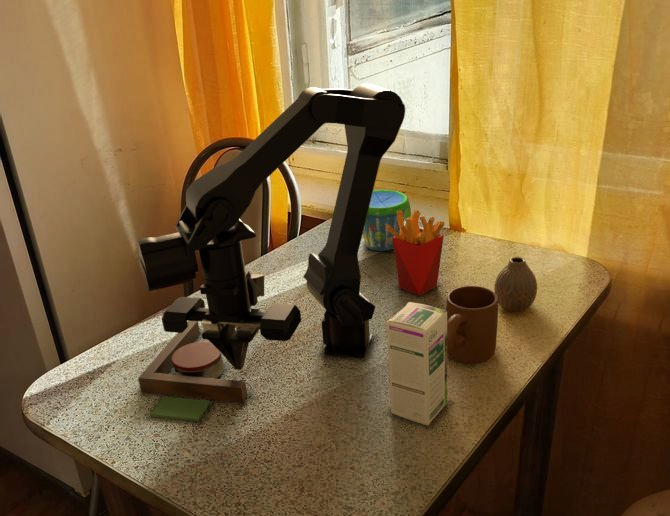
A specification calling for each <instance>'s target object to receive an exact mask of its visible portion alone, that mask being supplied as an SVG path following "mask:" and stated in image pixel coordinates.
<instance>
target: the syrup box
mask: <svg viewBox="0 0 670 516" xmlns="http://www.w3.org/2000/svg"><path fill="white" fill-rule="evenodd" d="M386 336H387V355H388V356H387V359H388V360H387V361H388V377H389V398H390V400H389V401H390V413H391V414H392V415H396V416H398V417H400V418H403V419H406V420H409V421H412V422H414V423H418V424H421V425H424V426H426V427H427V426H429V425H430V424H431V422H432V421H433V420H434V419H435V418H436V417H437V416H438V415H439V413H440V412H441V411H442V410H443V409H444V407H445V406H446V405H447V404H448V353H447V311H446V309H443V308H438V307H436V306H432V305H428V304H423V303H418V302H412V301H408V302H407V303H406V305H405V306H404V307H402V308H401V309H400V310H399V311H397V312H396V313H395V314H393V315H392V316H391V317H390V318H389V319H388V320H387V321H386Z"/></svg>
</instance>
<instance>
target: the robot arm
mask: <svg viewBox="0 0 670 516" xmlns="http://www.w3.org/2000/svg"><path fill="white" fill-rule="evenodd" d="M405 115H406V105H405V104H404V101H403V100H402V98H401V96H400V95H399V94H397V92H394V91H392V90H390V89H387V88H384V87H381V86H378V85H375V84H372V83H363V84H359V85H357V86H356V87H354V88H353V89H350V88H348V89H347V88H318V87H315V86H311V87H307V88H306V89H304V90H302V91H301V93H300V94H299V95H298V97H297V98H296V99H295V100H294V102H293V103H291V104H289V106H288V107H287V108H286V109H284V111H282V113H281V114H280V115H279V116H277V117H276V118H275V119H274V121H272V122H271V123H270V124H268V126H267V127H266V128H265V129H264V130H263V131H262V132H260V134H259V135H257V136H256V137H255V139H253V140H252V141H251V142H250V143H249V144H248V145H247V146H246V147H245V148H243V150H242V151H240V153H238V155H236V156H235V157H233V158H232V159H231V160H229V161H227V162H224V163H222V164H220V165H218V166H216V167H213V168H212V169H210V170H209V171H207V172H206V173H204V174H202V175H201V176H199V177H198V178H197V179H195V180H194V181H193V182H191V183H190V185H189V186H188V188H187V189H186V192H185V194H186V195H185V203H186V204H185V206H184V207H183V210H182V212H181V214H180V216H179V217H178V219H177V221H176V223H175V225H174V228H175V230H176V231H177V232H174V233H173V232H172V233H167V234H164V235H160V236H152V237H151V236H149V237H142V238H138V239H137V241H136V242H137V246H138V256H139V257H138V258H137V260H138V263H139V268H140V271H141V272H140V273H141V275H142V278H143V282H144V285H145V288H146V290H147V292H148V293H150V292H154V291H158V290H163V289H168V288H171V287H175V286H180V285H183V284H188V283H192V282H193V280H195V279H197V273H199V266H200V271H201V275H202V281H203V283H202V284H201V285H200V287H199V293H200V295H205V296H206V297H205V298H206V303H207V307H206V304H205V300H204V299H203V298H201V297H190V296H189V297H188V296H178V297H177V298H176V299H175V300H174V301H173V302H172V303H171V305H170V306H169V307H168V308H166V309H165V311H164V312H163V313H162V316H161V323H162V328H163V331H164V332H165V333H176V334H177V333H183V332H184V331H185V329H186V328H187V327H188V323H187V322H188V321H198V322H200V325H201V326H202V328H203V332H202V334H201V338H202V339H203V340H205V341H206V340H207V341H208V342H211V343H212V344H213V345H214V346H215V347H216V348H217V349H218V350H219V351H220V352H221V354H222V356H223V357H224V358H225V359H226V360H227V361H228V362H229V364H230V365H231V366H232V368H234V369H235V371H242V370H243V368H244V366H245V361H246V358H247V353H248V348H249V344H250V343H251V342H252V341H253V339H254V338H255V337H256V336H257V334H258V332H260V335H261V336H262V338H264V339H265V340H266V341H275V342H286V341H290V340H291V339H292V337H293V335H294V334H295V332H296V330H297V328H298V327H299V325H300V324H301V322H302V314H301V310H300V309H299V306H297V304H293V303H278V302H272V303H270V305H269V306H268V308H267V310H266V311H262V309H260V308H252V307H256V305H257V304H258V302H259V299H258V298H259V297H261V298H262V297H265V274H261V273H260V274H259V273H251V272H250V270H248V269H247V270H246V266H245V259H244V252H243V245H242V241H246V240H251V239H254V238H256V237H257V233H256V232H255V231H254V230H253V229H252V228H251V226H249V225H248V224H246V223H244V222H243V221H242V219H241V218H242V216H243V215H244V214H245V213H246V211H247V210H248V209H249V207H250V206H251V204H252V202H253V199H254V198H255V195H256V192H257V190H259V188H260V187H261V185H263V183H264V182H265V181H266V180H267V179H268V178H269V177H270V176H272V174H273V173H274V172H275V171H276V170H277V169H278V168H279V167H280V166H282V165H283V164H284V163H285V162H286V160H288V159H289V158H290V157H291V156H292V155H293V154H294V153H295V152H297V150H298V149H299V148H301V146H303V144H305V143H306V141H308V140H309V139H310V138H311V137H312V136H313V135H314V134H315V133H316V132H317V131H318V130H319V129H321V127H322V126H324V125H325V124H337V125H344V131H345V139H346V146H347V151H346V156H345V160H344V164H343V168H342V174H341V177H340V182H339V187H338V191H337V195H336V199H335V205H334V209H333V214H332V218H331V222H330V227H329V231H328V234H327V239H326V243H325V246H324V247H323V248H322V249H321V250H320V252H319V253H318V254H316V253H314V252H313V253H312V252H311V253H310V252H309V254H308V259H307V268H306V271H305V272H304V274H303V276H302V278H303V279H305V281H306V289H307V290H308V291H309V294H311V296H312V297H313V298H314V299H315V300H316V302H318V303H319V304H320V305H321V307H322V308H323V309H324V310H325V311H324V313H323V319H322V320H321V322H320V323H321V335H322V343H323V345H325V346H324V348H323V354H324V355H329V356H339V357H353V358H364V357H366V355H367V353H368V350H369V347H370V344H371V342H372V339H373V333H371V332H370V321H371V320H372V319H373V318H374V313H375V309H376V306H375V304H374V303H373V302H371V301H370V300H369V299H368V298H367V297H366V296H365V295H364V294H363V293H361V280H362V276H361V269H360V263H359V262H360V261H359V250H360V246H361V242H362V240H361V239H363V230H364V226H365V222H366V218H367V214H368V210H369V206H370V202H371V198H372V194H373V191H374V189H375V185H376V181H377V176H378V172H379V170H380V169H379V168H380V165H381V161H382V159H383V156H384V155H385V154H386V153H387V152H388V150H389V149H390V148H391V146H393V144H394V143H395V142H396V139H397V137H398V135H399V132H400V129H401V127H402V126H403V122H404V119H405ZM196 251H197V253H198V258H199V259H197V256H196ZM198 260H199V264H200V265H199V264H198ZM198 265H199V266H198Z"/></svg>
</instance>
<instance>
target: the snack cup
mask: <svg viewBox="0 0 670 516" xmlns="http://www.w3.org/2000/svg"><path fill="white" fill-rule="evenodd" d="M399 210H402V212H403V222H404V223H405V220H406V219H407V218H411V215H412V210H411V203H410V199H409V197H408V196H407V195H406V194H405V193H403V192H400V191H397V190H393V189H376V190H373V194H372V198H371V202H370V206H369V210H368V214H367V218H366V222H365V226H364V230H363V234H362V238H361V241H362V239H363V242H364V244H365V245H364V246H366V248H368V249H369V250H372V251H381V252H386V251H391V250H394V248H393V241H392V238H393V237H395V236H394V235H393V234H392V233H390V232H389V231H388V230H387V229H386V228H385V227H386V225H387V224H388V225H390V226H391V228H392V229H393V230H395V231H396V232H397V233H398V234H400V227H399V224H398V219H397V211H399Z"/></svg>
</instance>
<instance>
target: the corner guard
mask: <svg viewBox="0 0 670 516" xmlns="http://www.w3.org/2000/svg"><path fill="white" fill-rule="evenodd" d="M187 323H188V327H187V328H186V329H185V331H184V332H183V333H176V334H175V335H174V336H173V337H172V339H171V340H170V341H169V342H168V343H167V344H166V346H165V347H164V348H163V349H162V350H161V351H160V352H159V353H158V354H157V356H156V357H154V359H153V360H152V361H151V363H150V364H148V366H147V367H146V368H145V369H144V370H143V371H142V373H141V374H140V375H139V376H138V377H137V379H138V384H139V387H140V391H141V393H145V394H156V395H166V396H174V397H175V396H176V397H185V398H195V399H205V400H215V401H222V402H223V401H224V402H233V403H245V401H246V400H247V398H248V390H247V384H246V380H245V381H244V380H234V379H223V378H217V379H214V378H204V377H193V376H183V375H175V374H173V373H172V374H171V373H170V371H171V370H172V369H173V368H174V365H173V362H172V356H173V354H174V352H175V351H176V350H178V349H179V348H181V347H182V346H184V345H187V344H190V343H194V342H195V341H196V340H197V338H198V337H199V336H200V335H201V331H200V324H199V321H187Z"/></svg>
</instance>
